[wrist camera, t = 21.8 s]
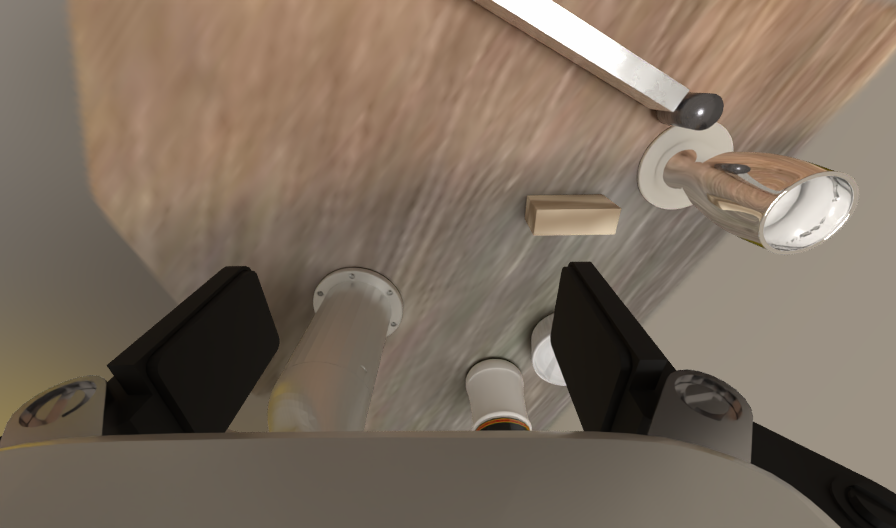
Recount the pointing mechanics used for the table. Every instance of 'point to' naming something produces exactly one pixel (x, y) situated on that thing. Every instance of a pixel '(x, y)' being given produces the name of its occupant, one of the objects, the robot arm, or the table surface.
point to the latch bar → (610, 62)
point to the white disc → (664, 142)
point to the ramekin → (545, 353)
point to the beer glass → (760, 194)
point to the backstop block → (571, 214)
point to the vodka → (497, 397)
